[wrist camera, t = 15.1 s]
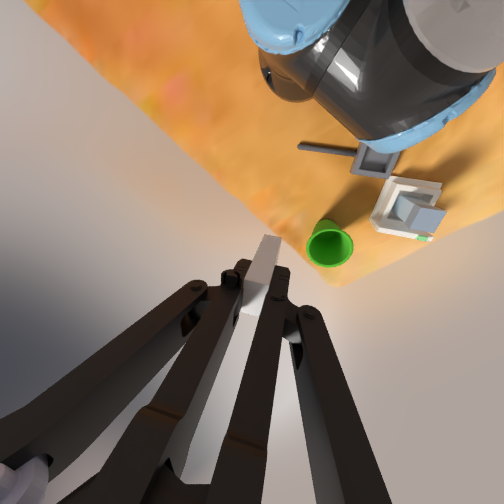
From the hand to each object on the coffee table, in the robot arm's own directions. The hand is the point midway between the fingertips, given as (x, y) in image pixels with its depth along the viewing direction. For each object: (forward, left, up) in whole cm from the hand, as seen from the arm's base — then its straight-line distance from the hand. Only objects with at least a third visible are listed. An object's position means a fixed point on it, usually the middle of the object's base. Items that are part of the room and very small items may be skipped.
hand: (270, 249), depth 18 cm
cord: (-7, +5, -34) cm, 35 cm away
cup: (+10, +10, -35) cm, 37 cm away
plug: (+1, +24, -34) cm, 41 cm away
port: (+1, +24, -34) cm, 42 cm away
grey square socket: (-7, +15, -34) cm, 38 cm away
